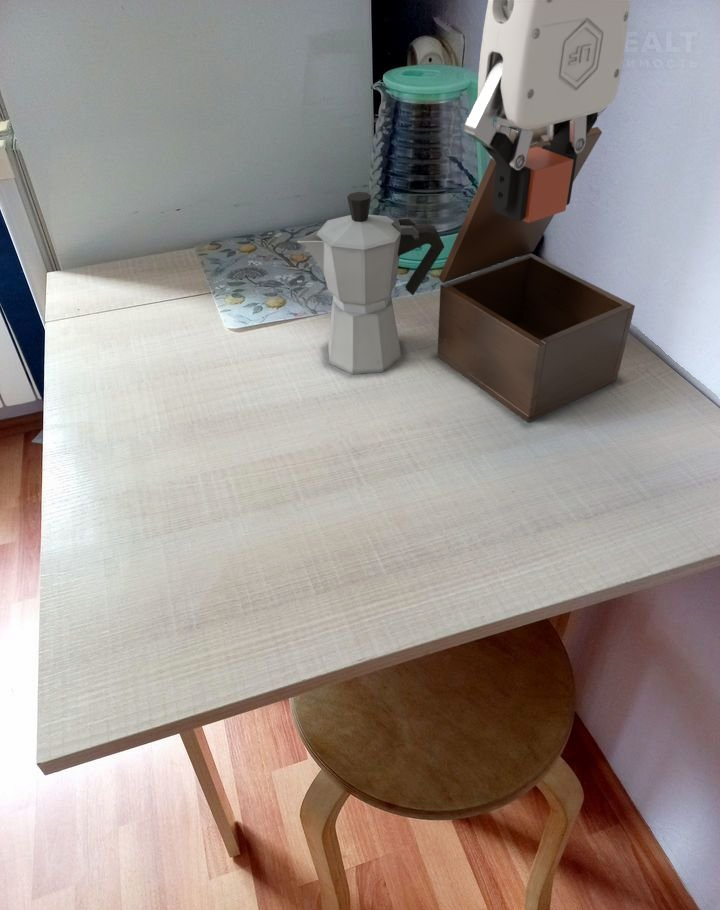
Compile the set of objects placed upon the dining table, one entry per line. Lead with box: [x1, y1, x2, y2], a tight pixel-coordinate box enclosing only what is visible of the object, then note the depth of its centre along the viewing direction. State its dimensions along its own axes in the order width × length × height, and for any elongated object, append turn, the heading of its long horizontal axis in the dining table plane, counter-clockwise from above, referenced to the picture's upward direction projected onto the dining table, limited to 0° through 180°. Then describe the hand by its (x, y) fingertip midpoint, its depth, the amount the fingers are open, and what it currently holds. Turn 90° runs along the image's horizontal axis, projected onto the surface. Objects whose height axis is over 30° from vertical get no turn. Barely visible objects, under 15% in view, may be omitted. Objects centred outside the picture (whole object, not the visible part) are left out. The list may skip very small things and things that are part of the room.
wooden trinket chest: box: [436, 252, 636, 423], centre depth 74 cm, size 15×13×9 cm
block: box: [523, 147, 573, 223], centre depth 55 cm, size 4×4×4 cm
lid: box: [438, 126, 603, 284], centre depth 69 cm, size 15×13×5 cm
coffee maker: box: [296, 191, 445, 375], centre depth 74 cm, size 15×9×18 cm, turn 95°
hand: (530, 205), depth 56 cm, fingers closed on block, 4 cm apart
